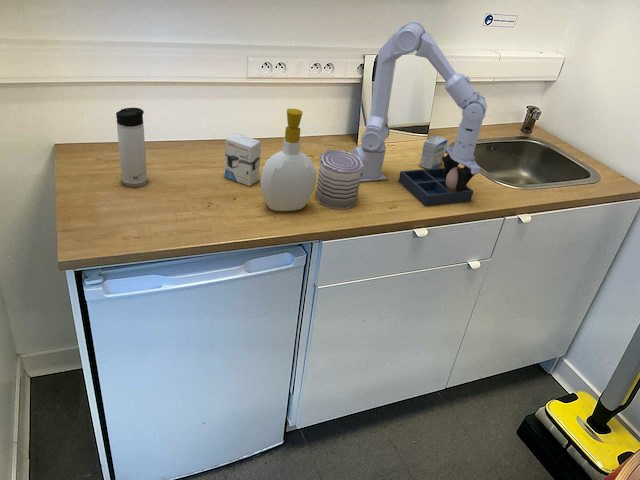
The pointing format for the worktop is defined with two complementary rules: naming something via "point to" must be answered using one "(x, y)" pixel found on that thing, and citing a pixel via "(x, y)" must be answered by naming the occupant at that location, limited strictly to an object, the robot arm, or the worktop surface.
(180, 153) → the worktop surface
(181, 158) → the worktop surface
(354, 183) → the can
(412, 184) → the divided tray
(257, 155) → the ink box
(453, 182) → the egg
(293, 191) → the soap bottle
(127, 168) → the travel mug
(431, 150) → the medicine box
